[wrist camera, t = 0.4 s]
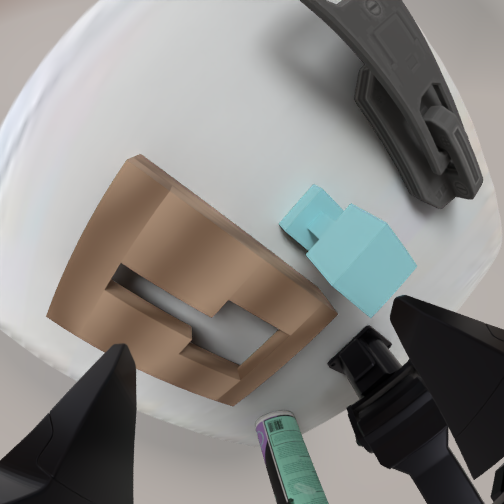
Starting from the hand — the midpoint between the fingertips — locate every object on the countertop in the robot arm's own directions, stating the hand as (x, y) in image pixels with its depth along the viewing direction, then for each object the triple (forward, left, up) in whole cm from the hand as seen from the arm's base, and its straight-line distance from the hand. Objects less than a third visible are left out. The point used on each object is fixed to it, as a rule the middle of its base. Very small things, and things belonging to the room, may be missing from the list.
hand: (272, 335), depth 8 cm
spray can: (-23, +18, -13) cm, 32 cm away
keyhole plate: (-2, +7, -13) cm, 15 cm away
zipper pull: (-3, -17, -13) cm, 21 cm away
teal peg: (-6, -4, -13) cm, 14 cm away
